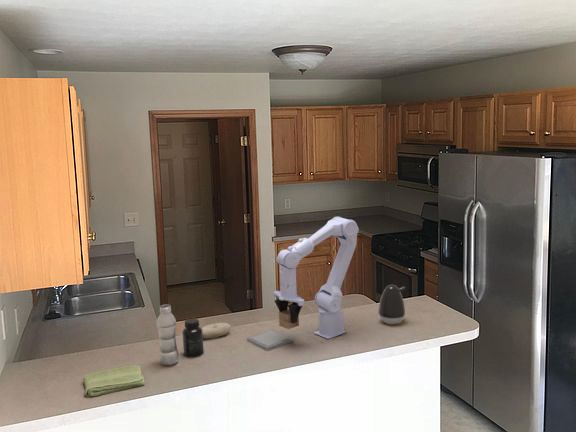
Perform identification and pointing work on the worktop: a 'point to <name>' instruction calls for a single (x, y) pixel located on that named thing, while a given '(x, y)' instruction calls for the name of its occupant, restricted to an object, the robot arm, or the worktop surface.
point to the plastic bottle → (167, 336)
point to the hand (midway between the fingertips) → (289, 320)
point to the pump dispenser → (392, 305)
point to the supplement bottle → (192, 338)
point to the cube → (287, 320)
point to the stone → (215, 330)
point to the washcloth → (112, 380)
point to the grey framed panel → (270, 339)
